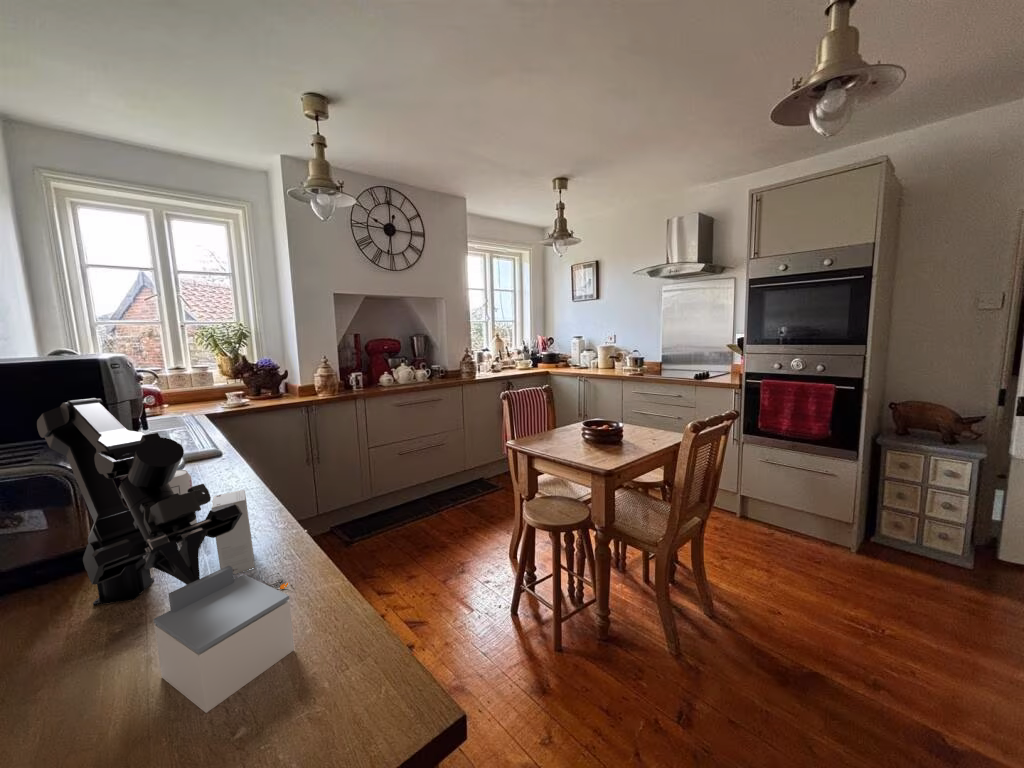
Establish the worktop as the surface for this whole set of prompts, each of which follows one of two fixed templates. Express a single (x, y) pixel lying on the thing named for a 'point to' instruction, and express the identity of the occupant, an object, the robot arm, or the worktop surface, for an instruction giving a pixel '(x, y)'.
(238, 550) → the skincare box
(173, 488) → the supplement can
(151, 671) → the worktop surface
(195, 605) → the lid
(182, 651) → the mailer box
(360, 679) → the worktop surface
